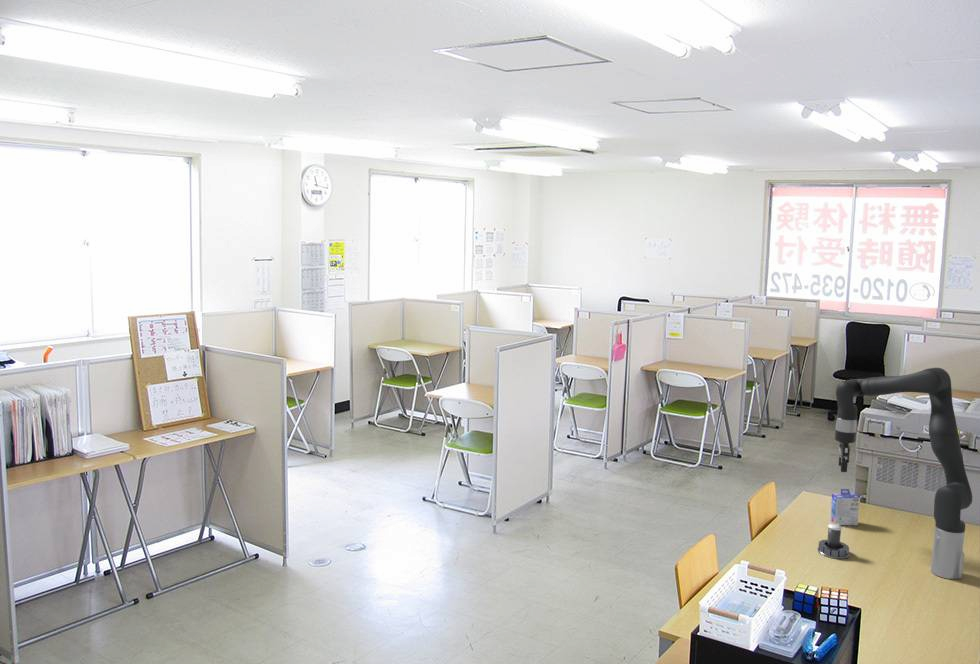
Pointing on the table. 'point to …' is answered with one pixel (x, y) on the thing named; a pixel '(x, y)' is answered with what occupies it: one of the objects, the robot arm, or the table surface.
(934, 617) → the table surface
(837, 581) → the table surface
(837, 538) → the tube
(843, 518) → the ink cartridge box
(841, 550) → the dark grey ridged ring
